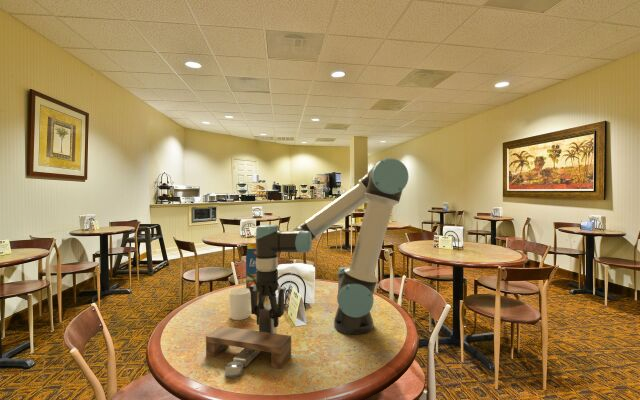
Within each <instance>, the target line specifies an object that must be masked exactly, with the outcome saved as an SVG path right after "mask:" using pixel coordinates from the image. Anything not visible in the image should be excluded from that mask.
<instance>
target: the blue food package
mask: <svg viewBox="0 0 640 400" xmlns="http://www.w3.org/2000/svg"><path fill="white" fill-rule="evenodd" d="M246 245H247V246H246V248H247V249H246V253H245V284H246V285H245V288H246V289H249V287H250V286H252V285H256V282H257V280H256V271H257V270H258V269H257V268H256V243H247V244H246ZM257 292H259V291H258V289H257Z"/></svg>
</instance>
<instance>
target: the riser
mask: <svg viewBox="0 0 640 400" xmlns="http://www.w3.org/2000/svg"><path fill="white" fill-rule="evenodd" d="M229 346H230V347H236V348H243V349H244V348H247V349H253V350H260V351H261V352H266V353H267V352H268V353H270V354H271V355H270V356H271V359H270V360H271V368H274V369H279V370H280V369H282V368H283V366H285V364H286V363H287V361H289V358H290V357H291V356H292V335H287V334H281V333H276V334H274V333H267V332H260V331H259V330H252V329H246V328H245V329H244V328H238V327H231V326H223V325H220V326H219V327H218V328H216V329H214V330H213V331H211V332H210V333H209V334H207V335H206V336H205V356H206V357H207V356H208V357H213V358H215V357H216V356H217V355H218V354H220V353H221V352H222V351H223V350H224V349H226V348H227V347H229Z"/></svg>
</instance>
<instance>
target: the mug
mask: <svg viewBox="0 0 640 400" xmlns="http://www.w3.org/2000/svg"><path fill="white" fill-rule="evenodd" d="M228 293H229V318H230V319H231V320H233V321H243V320H246V319H248V318H250V316H251V315H253V314H252V313H251V293H250V290H249V289H246V287H244V288H235V289H232V290H230V291H229V292H228Z"/></svg>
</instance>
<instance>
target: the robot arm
mask: <svg viewBox="0 0 640 400" xmlns="http://www.w3.org/2000/svg"><path fill="white" fill-rule="evenodd" d="M408 181H409V171H408V168H407V166H406V165H405V164H404V163H403V162H402V161H401V160H399V159H396V158H391V157H390V158H382V159H380V160H379V161H377V162H376V163H375V164H374V165H373V167H372V168H371V169H369V171H368V172H367V173H366V174H365V175H364V176H363V177H362V178H360V179H359V180H358V182H357V184H356V185H355V186H353V187H351V188H350V189H349V190H347V191H345V193H343V194H342V195H340V196H339V197H338V198H336V199H335V200H333V201H332V202H331V203H329V204H328V205H326V206H325V207H323V208H322V209H321V210H319V211H318V212H316V213H315V214H313V215H312V216H311V217H309V218H308V219H306V220H305V221H304V222H302V223H300V224H299V225H298V226H296V227H295V228H294V229H292V230H279V229H278V225H276V224H261V225H258V226H257V227H256V228H255V230H256V231H255V244H256V268H257V269H258V270H257V271H256V280H257V282H256V285H252V286H250V287H249V290H250V293H251V313H252V314H251V315H255V316H256V325H257V326H259V309H260V308H261V307H262V306H264V305H265V300H266V297H268V300H269V303H270V305H271V309H272V314H273V317H272V318H271V333H274V334H277V328H278V327H279V323H280V322H279V318H281V317H282V316H284V313H285V294H286V290H287V289H286V287H282V286H280V284H279V282H278V281H279V270H278V266H279V265H278V262H279V261H278V259H279V258H278V257H279V256H278V254H279V253H295V254H298V253H300V254H302V253H310V252H311V250H312V248H313V247H312V246H313V245H312V244H313V243H312V242H313V241H312V240H314V239H316V238H317V237H319V235H321V234H323V233H324V232H325V231H327V230H328V229H330V228H331V227H333V226H334V225H336V224H337V223H338V222H341V220H343V219H345V218H346V217H348V216H349V215H350V214H351V213H353V212H355V211H356V210H357V209H359V208H360V207H362V206H363V205H364V204H366V206H365V210H364V214H363V217H362V221H361V225H360V228H359V232H358V235H357V239H356V243H355V246H354V250H353V253H352V258H351V261H350V265H349V266H342V267H339V269H338V273H337V276H338V281H337V283H338V287H337V297H336V300H337V301H336V302H337V304H338V306H337V310H336V312H335V313H336V314H335V316H334V319H333V325H334V326H333V327H334V329H335V330H336V331H338V332H340V333H343V334H345V335H346V334H347V335H363V334H367V333H370V332H371V331H372V330H373V329H374V320H373V317H372V314H371V311H372V309H373V306H374V303H375V302H374V301H375V299H374V293H375V289H376V286H377V283H378V279H377V276H376V275H375V272H376V269H377V265H378V261H379V258H380V255H381V252H382V247H383V245H384V240H385V236H386V233H387V229H388V225H389V222H390V218H391V216H392V212H393V209H394V207H395V206H396V205H397V204H399V203H400V201H401V197H402V195H403V194H402V193H403V190H404V189H405V188H406V186H407V185H408ZM257 289H258V291H257ZM276 292H277V294H278V296H277V294H276ZM276 297H277V298H276Z"/></svg>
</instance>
